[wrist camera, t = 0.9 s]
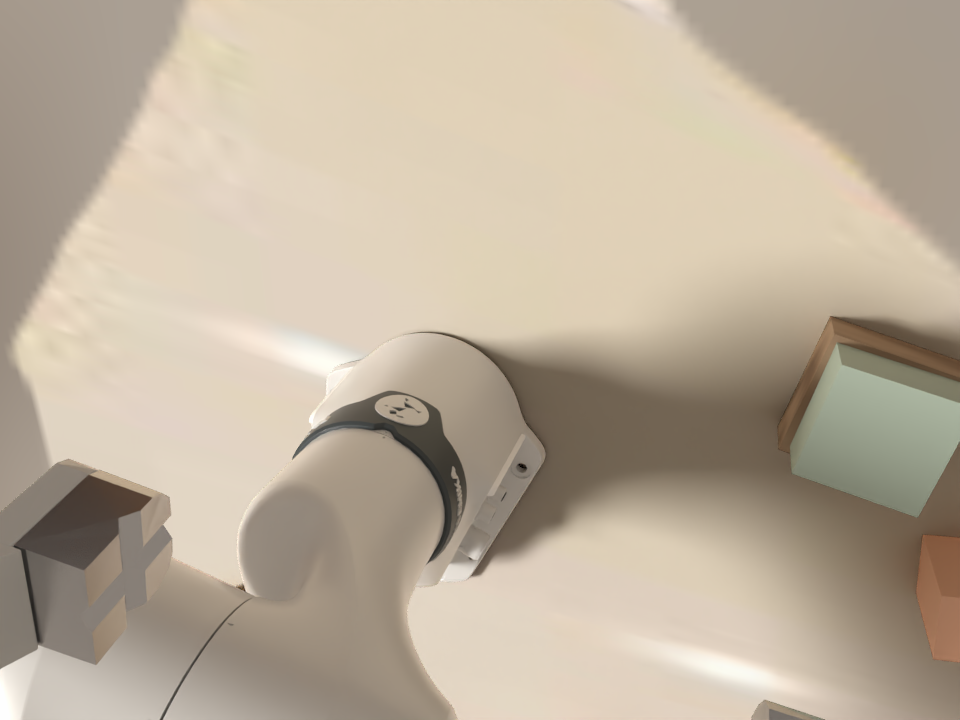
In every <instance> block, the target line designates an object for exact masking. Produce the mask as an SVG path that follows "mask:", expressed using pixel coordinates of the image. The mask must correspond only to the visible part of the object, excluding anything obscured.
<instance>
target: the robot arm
mask: <svg viewBox="0 0 960 720" xmlns="http://www.w3.org/2000/svg"><path fill="white" fill-rule="evenodd" d="M309 422H310V423H311V424H312V427H311V431H310V432H309V433H308V435H307V436H306V437H305V438H304V440H303V441H302V443H301V444H300V446H299V447H298V448H297V450H296V452H295V454H294V456H293V458H292V461H291V462H290V463H289V464H287V465H286V466H285V467H284V468H283V469H282V470H281V471H280V472H279V473H278V474H277V475H276V476H275V477H274V478H273V479H272V480H271V481H270V482H269V483H268V484H267V485H266V486H265V487H264V488H263V489H262V490H261V491H260V492H259V493H258V494H257V495H256V496H255V497H254V498H253V499H252V501H251V502H250V504H249V506H248V508H247V509H246V511H245V513H244V515H243V518H242V521H241V524H240V527H239V531H238V537H237V558H238V563H239V568H240V572H241V576H242V580H243V583H244V587H245V590H246V592H245V591H243V590H241V589H239V588H237V587H234V586H232V585H230V584H228V583H226V582H224V581H222V580H219V579H217V578H215V577H213V576H211V575H209V574H207V573H204V572H202V571H200V570H198V569H196V568H194V567H191V566H189V565H187V564H185V563H183V562H181V561H179V560H176V559H174V558H172V557H171V556H172V552H173V549H172V537H171V536H170V534H169V533H168V531H167V530H166V528H165V527H164V526H163V524H164V523H165V521H166V520H167V519H168V518H169V517H170V516H171V508H170V497H169V496H167V495H165V494H163V493H160V492H157V491H155V490H152V489H149V488H147V487H144V486H141V485H139V484H136V483H133V482H131V481H128V480H125V479H123V478H120V477H117V476H115V475H112V474H109V473H107V472H104V471H102V470H98V469H95V468H92V467H90V466H87V465H84V464H81V463H79V462H76V461H73V460H70V459H67V460H64V461H61V462H58V463H56V464H55V465H53V466H52V467H51V468H50V469H49V470H48V471H47V472H45V473H44V474H43V475H42V476H41V477H40V478H39V479H37V480H36V481H35V482H34V483H33V484H32V485H31V486H29V487H28V488H27V489H26V490H25V491H24V492H23V493H21V494H20V495H19V496H18V497H17V498H16V499H15V500H13V501H12V502H11V503H10V504H9V505H8V506H7V507H5V508H4V509H3V510H2V511H1V512H0V720H458V719H457V716H456V714H455V711H454V708H453V707H452V705H451V704H450V703H449V702H448V700H447V699H446V698H445V697H444V696H443V694H442V693H441V692H440V691H439V689H438V688H437V687H436V685H435V684H434V682H433V681H432V679H431V678H430V676H429V675H428V673H427V671H426V670H425V668H424V666H423V664H422V663H421V661H420V658H419V656H418V654H417V651H416V649H415V647H414V644H413V641H412V638H411V635H410V631H409V626H408V618H407V609H408V604H409V601H410V598H411V596H412V593H413V591H414V588H415V587H419V588H422V587H431V586H434V585H437V584H438V583H439V582H460V581H465V580H467V579H469V578H470V576H471V575H472V574H473V572H474V571H475V569H476V568H477V566H478V565H479V563H480V562H481V560H482V559H483V557H484V555H485V554H486V552H487V551H488V549H489V548H490V546H491V544H492V543H493V541H494V540H495V538H496V537H497V535H498V533H499V532H500V530H501V529H502V527H503V525H504V524H505V522H506V521H507V519H508V518H509V516H510V514H511V513H512V511H513V510H514V508H515V506H516V505H517V503H518V502H519V500H520V499H521V497H522V495H523V494H524V492H525V491H526V489H527V488H528V486H529V484H530V483H531V481H532V480H533V478H534V476H535V475H536V473H537V472H538V470H539V469H540V467H541V465H542V464H543V462H544V460H545V457H546V453H545V449H544V447H543V445H542V444H541V442H540V441H539V439H538V438H537V437H536V436H535V434H534V433H533V432H532V431H531V430H530V428H529V427H528V426H527V425H526V423H525V421H524V419H523V416H522V414H521V410H520V407H519V404H518V401H517V398H516V396H515V393H514V391H513V389H512V387H511V385H510V383H509V382H508V380H507V379H506V377H505V376H504V374H503V373H502V372H501V371H500V369H499V368H498V367H497V366H496V365H495V364H494V363H493V362H492V361H491V360H490V359H489V358H488V357H487V356H485V355H484V354H483V353H481V352H480V351H479V350H477V349H476V348H474V347H472V346H471V345H469V344H467V343H465V342H463V341H460V340H458V339H455V338H452V337H449V336H445V335H441V334H434V333H414V334H408V335H403V336H400V337H397V338H394V339H392V340H390V341H388V342H386V343H384V344H383V345H381V346H380V347H378V348H377V349H376V350H375V351H373V352H372V353H371V354H370V355H368V356H367V357H365V358H364V359H362V360H359V361H354V362H349V363H345V364H341V365H339V366H337V367H335V368H334V369H333V370H332V371H331V372H330V373H329V375H328V376H327V380H326V397H325V398H324V400H323V401H322V402H321V403H320V404H319V405H318V407H317V408H316V409H315V410H314V411H313V413H312V414H311V416H310V419H309ZM519 463H523V464H525V465H526V467H527V468H526V469H523V468H521V467H520V466H519ZM752 720H825V719H821V718H818V717H815V716H812V715H809V714H806V713H803V712H800V711H797V710H794V709H791V708H788V707H785V706H782V705H779V704H776V703H773V702H770V701H767V700H764V701H763V702H761V703H760V704H759V705H758V707H757V708H756V710H755V712H754V714H753V715H752Z"/></svg>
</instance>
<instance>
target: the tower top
mask: <svg viewBox="0 0 960 720" xmlns="http://www.w3.org/2000/svg"><path fill="white" fill-rule="evenodd" d="M959 442H960V382H958V381H955V380H952V379H949V378H946V377H943V376H940V375H936V374H933V373H930V372H927V371H924V370H921V369H918V368H915V367H912V366H909V365H906V364H902V363H899V362H896V361H893V360H890V359H887V358H884V357H881V356H878V355H875V354H872V353H868V352H865V351H862V350H859V349H856V348H853V347H850V346H847V345H844V344H841V343H838V342H837V343H836V345H835V348H834V350H833V352H832V354H831V356H830V359H829V361H828V363H827V365H826V367H825V370H824V372H823V374H822V376H821V378H820V381H819V383H818V385H817V387H816V389H815V392H814V394H813V396H812V398H811V401H810V403H809V405H808V407H807V409H806V412H805V414H804V416H803V418H802V420H801V423H800V425H799V427H798V429H797V431H796V434H795V436H794V438H793V440H792V442H791V445H790V457H791V473H792V474H794V475H797V476H800V477H803V478H806V479H808V480H811V481H814V482H817V483H820V484H823V485H825V486H828V487H831V488H834V489H837V490H840V491H843V492H845V493H848V494H851V495H854V496H857V497H860V498H863V499H865V500H868V501H871V502H874V503H877V504H880V505H882V506H885V507H888V508H891V509H894V510H897V511H900V512H902V513H905V514H908V515H911V516H914V517H917V518H918V517H919V515H920V513H921V511H922V509H923V507H924V506H925V504H926V502H927V500H928V498H929V496H930V495H931V493H932V491H933V489H934V487H935V486H936V484H937V482H938V480H939V478H940V476H941V475H942V473H943V471H944V469H945V467H946V465H947V464H948V462H949V460H950V458H951V456H952V455H953V453H954V451H955V449H956V447H957V445H958V444H959Z"/></svg>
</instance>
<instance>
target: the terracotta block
mask: <svg viewBox="0 0 960 720" xmlns="http://www.w3.org/2000/svg"><path fill="white" fill-rule="evenodd" d="M916 595H917V599H918V603H919V607H920V610H921V614H922V618H923V622H924V626H925V630H926V633H927V637H928V641H929V645H930V649H931V652H932V656H933V659H935V660H943V661H951V662H960V538H958V537H946V536H934V535H923V537H922V545H921V554H920V563H919V571H918V580H917V588H916Z"/></svg>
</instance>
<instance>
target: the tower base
mask: <svg viewBox="0 0 960 720" xmlns="http://www.w3.org/2000/svg"><path fill="white" fill-rule="evenodd" d="M837 342H838V343H841V344H844V345H847V346H850V347H853V348H856V349H859V350H862V351H865V352H868V353H872V354H875V355H878V356H881V357H884V358H887V359H890V360H893V361H896V362H899V363H902V364H906V365H909V366H912V367H915V368H918V369H921V370H924V371H927V372H930V373H933V374H936V375H940V376H943V377H946V378H949V379H952V380H955V381H958V382H960V361H958V360H956V359H953V358H950V357H947V356H944V355H941V354H938V353H935V352H933V351H930V350H927V349H924V348H921V347H918V346H915V345H912V344H909V343H907V342H904V341H901V340H898V339H895V338H892V337H889V336H886V335H883V334H881V333H878V332H875V331H872V330H869V329H866V328H863V327H860V326H858V325H855V324H852V323H849V322H846V321H843V320H840V319H837V318H834V317H832V316H830V318H829V320H828V322H827V325H826V327H825V329H824V331H823V333H822V335H821V337H820V339H819V341H818V343H817V345H816V348H815V350H814V352H813V354H812V356H811V358H810V360H809V362H808V364H807V366H806V368H805V371H804V373H803V375H802V377H801V379H800V381H799V383H798V385H797V387H796V389H795V391H794V394H793V396H792V398H791V400H790V402H789V404H788V406H787V408H786V410H785V412H784V414H783V416H782V419H781V421H780V423H779V425H778V449H779V450H781V451H784V452H787V453H789V454H790V445H791V442H792V440H793V438H794V436H795V434H796V431H797V429H798V427H799V425H800V423H801V420H802V418H803V416H804V414H805V412H806V409H807V407H808V405H809V403H810V401H811V398H812V396H813V394H814V392H815V389H816V387H817V385H818V383H819V381H820V378H821V376H822V374H823V372H824V370H825V367H826V365H827V363H828V361H829V359H830V356H831V354H832V352H833V350H834V348H835V345H836V343H837Z"/></svg>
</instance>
